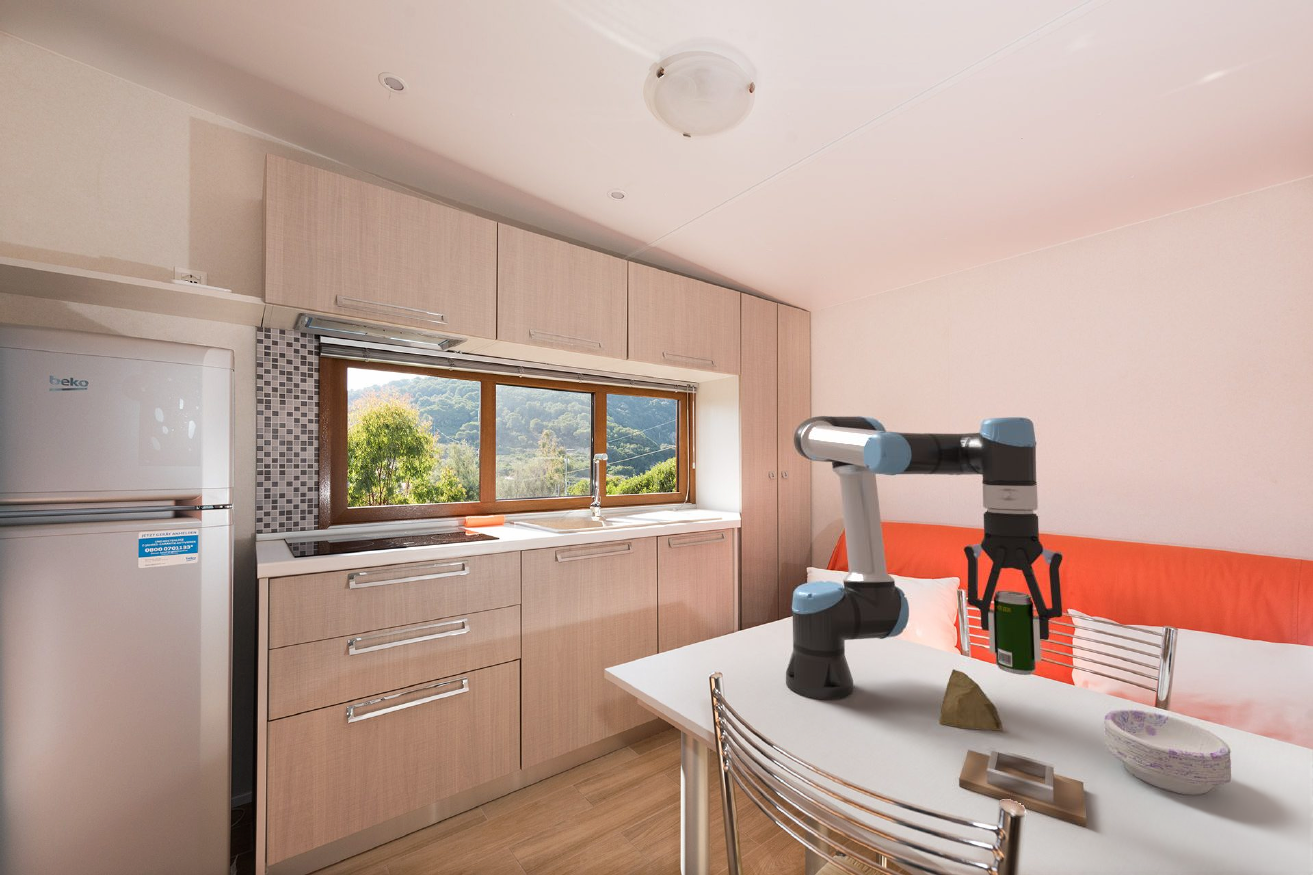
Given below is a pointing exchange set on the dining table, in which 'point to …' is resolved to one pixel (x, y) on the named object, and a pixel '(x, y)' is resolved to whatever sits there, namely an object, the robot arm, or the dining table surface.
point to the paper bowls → (1168, 751)
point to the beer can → (1014, 632)
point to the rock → (968, 705)
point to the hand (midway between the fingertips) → (1015, 654)
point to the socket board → (1024, 784)
